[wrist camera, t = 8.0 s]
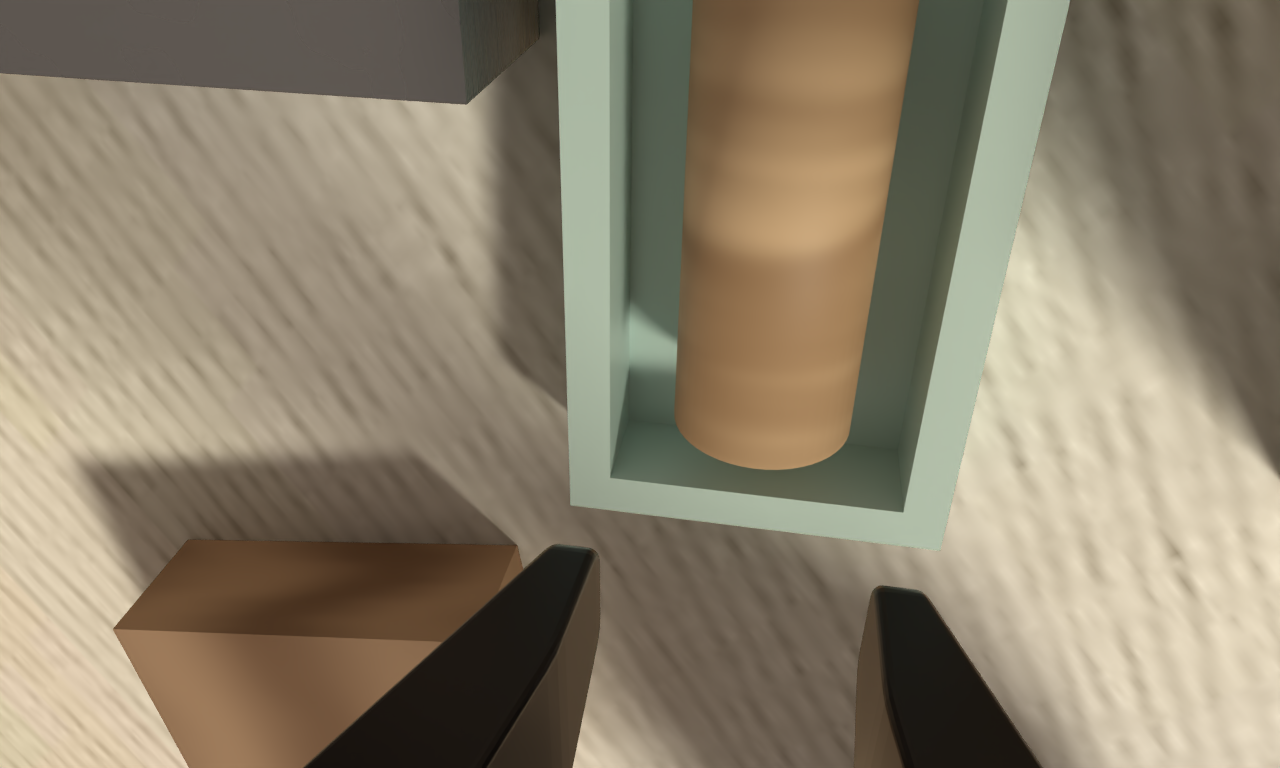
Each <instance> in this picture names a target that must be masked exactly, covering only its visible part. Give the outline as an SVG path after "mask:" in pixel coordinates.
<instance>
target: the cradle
mask: <svg viewBox="0 0 1280 768" xmlns="http://www.w3.org/2000/svg"><path fill="white" fill-rule="evenodd" d="M1069 4H1070V0H919V6H918V12H917V18H916V24H915V31H914V37H913V43H912V49H911V55H910V61H909V68H908V74H907V80H906V86H905V92H904V98H903V105H902V111H901V117H900V123H899V129H898V135H897V142H896V148H895V154H894V160H893V166H892V172H891V179H890V185H889V191H888V197H887V203H886V209H885V216H884V222H883V228H882V234H881V240H880V246H879V253H878V259H877V265H876V271H875V277H874V283H873V290H872V296H871V302H870V308H869V314H868V320H867V327H866V333H865V339H864V345H863V351H862V357H861V364H860V370H859V376H858V382H857V388H856V394H855V401H854V407H853V413H852V419H851V425H850V431H849V436H848V438H847V440H846V442H845V443H844V445H843V446H842V447H841V448H840V449H839V450H838V451H837V452H836V453H834V454H833V455H832V456H830V457H828V458H826V459H824V460H822V461H820V462H817V463H815V464H812V465H808V466H804V467H800V468H793V469H783V470H763V469H753V468H747V467H741V466H737V465H733V464H729V463H726V462H723V461H721V460H718V459H716V458H713V457H711V456H709V455H707V454H705V453H703V452H702V451H700V450H698V449H697V448H696V447H694V446H693V445H692V444H690V443H689V442H688V441H687V440H686V439H685V438H684V436H683V435H682V434H681V433H680V431H679V429H678V427H677V425H676V422H675V417H674V406H675V384H676V362H677V339H678V317H679V295H680V273H681V251H682V229H683V207H684V184H685V162H686V140H687V118H688V96H689V74H690V51H691V29H692V7H693V0H556V32H557V67H558V101H559V135H560V169H561V203H562V238H563V272H564V306H565V340H566V374H567V408H568V443H569V477H570V505H571V506H579V507H587V508H595V509H603V510H611V511H619V512H627V513H636V514H644V515H652V516H660V517H668V518H676V519H684V520H693V521H701V522H709V523H717V524H725V525H733V526H741V527H749V528H758V529H766V530H774V531H782V532H790V533H798V534H806V535H815V536H823V537H831V538H839V539H847V540H855V541H863V542H871V543H880V544H888V545H896V546H904V547H912V548H920V549H928V550H937V551H940V550H941V545H942V541H943V537H944V533H945V528H946V524H947V520H948V516H949V511H950V507H951V503H952V499H953V495H954V490H955V486H956V482H957V478H958V473H959V469H960V465H961V461H962V457H963V452H964V448H965V444H966V440H967V435H968V431H969V427H970V423H971V418H972V414H973V410H974V406H975V402H976V397H977V393H978V389H979V385H980V380H981V376H982V372H983V368H984V363H985V359H986V355H987V351H988V347H989V342H990V338H991V334H992V330H993V325H994V321H995V317H996V313H997V309H998V304H999V300H1000V296H1001V292H1002V287H1003V283H1004V279H1005V275H1006V270H1007V266H1008V262H1009V258H1010V254H1011V249H1012V245H1013V241H1014V237H1015V232H1016V228H1017V224H1018V220H1019V216H1020V211H1021V207H1022V203H1023V199H1024V194H1025V190H1026V186H1027V182H1028V177H1029V173H1030V169H1031V165H1032V161H1033V156H1034V152H1035V148H1036V144H1037V139H1038V135H1039V131H1040V127H1041V122H1042V118H1043V114H1044V110H1045V106H1046V101H1047V97H1048V93H1049V89H1050V84H1051V80H1052V76H1053V72H1054V68H1055V63H1056V59H1057V55H1058V51H1059V46H1060V42H1061V38H1062V34H1063V29H1064V25H1065V21H1066V17H1067V13H1068V8H1069Z"/></svg>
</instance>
